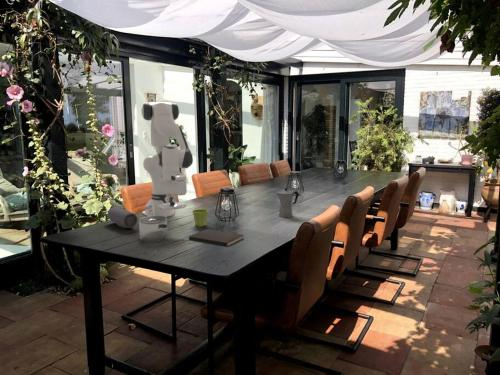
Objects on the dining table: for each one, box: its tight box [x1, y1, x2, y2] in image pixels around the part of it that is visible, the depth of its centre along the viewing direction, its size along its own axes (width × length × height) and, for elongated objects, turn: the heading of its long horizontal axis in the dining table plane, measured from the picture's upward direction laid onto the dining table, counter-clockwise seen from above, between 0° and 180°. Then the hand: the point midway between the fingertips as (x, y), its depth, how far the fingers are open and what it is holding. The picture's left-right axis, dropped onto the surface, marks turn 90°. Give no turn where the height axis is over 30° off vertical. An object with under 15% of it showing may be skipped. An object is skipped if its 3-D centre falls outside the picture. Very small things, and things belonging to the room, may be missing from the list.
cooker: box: [138, 215, 169, 243], centre depth 209 cm, size 21×14×10 cm
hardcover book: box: [188, 228, 244, 247], centre depth 208 cm, size 16×23×2 cm
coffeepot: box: [275, 187, 299, 218], centre depth 258 cm, size 15×9×18 cm, turn 107°
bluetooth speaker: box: [106, 206, 139, 229], centre depth 232 cm, size 23×9×10 cm, turn 41°
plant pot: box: [191, 208, 209, 227], centre depth 234 cm, size 9×9×9 cm
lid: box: [158, 196, 187, 210], centre depth 214 cm, size 15×15×5 cm
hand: (172, 201), depth 214 cm, fingers closed on lid, 3 cm apart
